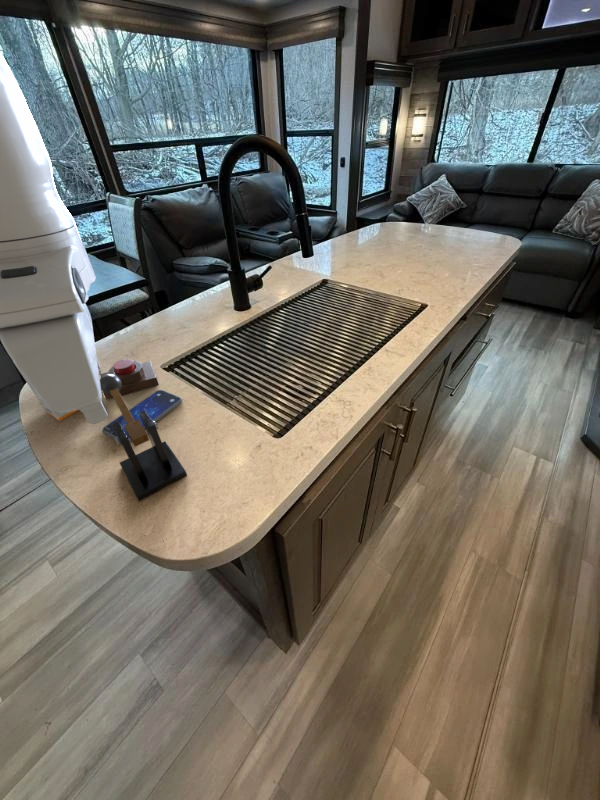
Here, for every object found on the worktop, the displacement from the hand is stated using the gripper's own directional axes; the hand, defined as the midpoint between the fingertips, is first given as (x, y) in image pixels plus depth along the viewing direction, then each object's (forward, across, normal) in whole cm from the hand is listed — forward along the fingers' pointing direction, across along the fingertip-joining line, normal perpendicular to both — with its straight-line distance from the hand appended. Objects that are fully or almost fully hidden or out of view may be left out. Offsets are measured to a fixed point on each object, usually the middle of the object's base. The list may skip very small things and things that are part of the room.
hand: (96, 394), depth 37 cm
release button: (+18, -36, +1) cm, 41 cm away
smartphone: (+22, -22, +2) cm, 31 cm away
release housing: (+22, -36, +1) cm, 42 cm away
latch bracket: (+22, -7, +1) cm, 23 cm away
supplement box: (+22, -34, -11) cm, 41 cm away
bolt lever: (+12, -12, 0) cm, 17 cm away
